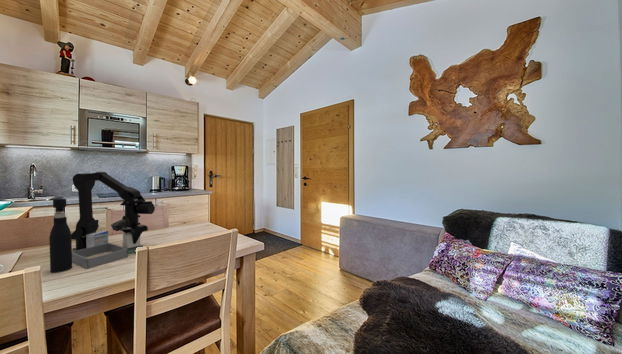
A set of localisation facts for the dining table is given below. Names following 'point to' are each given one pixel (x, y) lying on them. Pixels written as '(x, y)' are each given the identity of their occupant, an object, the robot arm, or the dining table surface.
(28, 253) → the dining table surface
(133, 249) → the mat
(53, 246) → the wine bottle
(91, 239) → the medicine box
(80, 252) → the grey tray
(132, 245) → the block
